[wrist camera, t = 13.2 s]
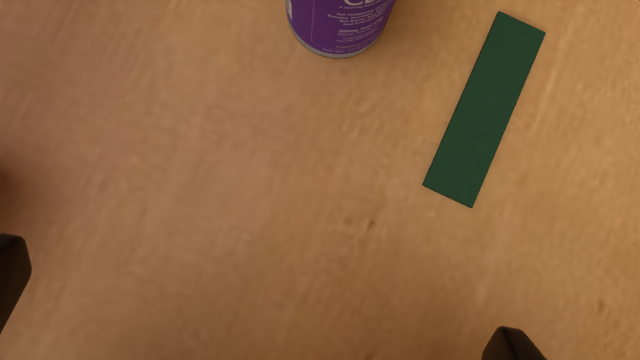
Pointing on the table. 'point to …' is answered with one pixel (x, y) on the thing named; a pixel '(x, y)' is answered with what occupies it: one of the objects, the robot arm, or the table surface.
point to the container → (338, 24)
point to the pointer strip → (484, 109)
